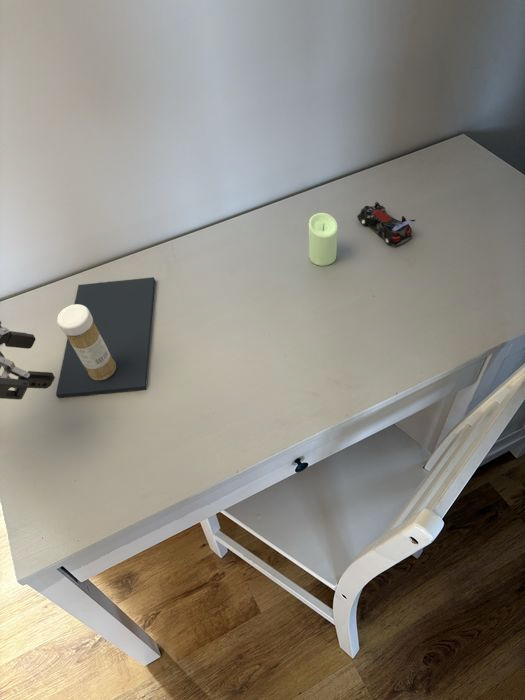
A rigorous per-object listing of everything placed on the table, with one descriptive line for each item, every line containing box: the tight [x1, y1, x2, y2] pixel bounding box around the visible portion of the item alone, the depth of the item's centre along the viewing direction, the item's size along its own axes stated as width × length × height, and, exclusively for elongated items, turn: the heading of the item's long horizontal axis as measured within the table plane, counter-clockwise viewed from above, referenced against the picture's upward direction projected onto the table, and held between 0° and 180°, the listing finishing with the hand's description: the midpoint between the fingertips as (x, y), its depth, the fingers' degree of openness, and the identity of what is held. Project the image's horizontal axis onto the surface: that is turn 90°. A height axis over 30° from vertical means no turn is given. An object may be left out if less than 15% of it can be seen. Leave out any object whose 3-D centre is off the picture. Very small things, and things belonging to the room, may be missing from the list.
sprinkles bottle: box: [56, 303, 116, 380], centre depth 80 cm, size 5×5×14 cm
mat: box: [55, 276, 156, 399], centre depth 91 cm, size 24×14×1 cm, turn 4°
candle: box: [308, 212, 339, 267], centre depth 96 cm, size 5×5×8 cm
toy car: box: [356, 201, 416, 248], centre depth 101 cm, size 6×12×4 cm, turn 33°
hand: (42, 360), depth 77 cm, fingers open, 8 cm apart
